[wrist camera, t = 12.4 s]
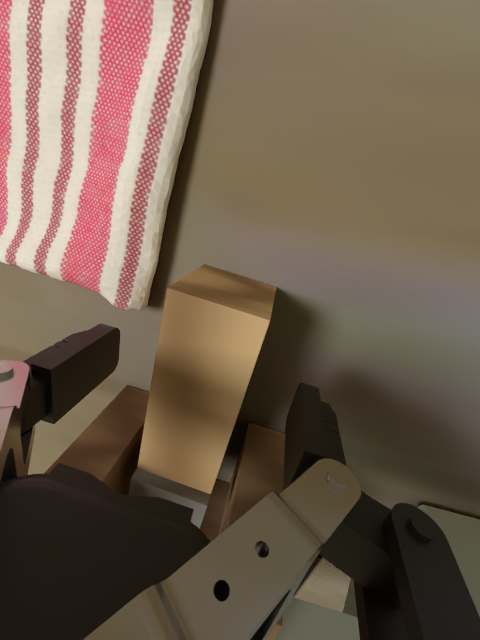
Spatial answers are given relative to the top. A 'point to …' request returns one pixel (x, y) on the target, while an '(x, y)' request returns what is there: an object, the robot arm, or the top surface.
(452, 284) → the top surface
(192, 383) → the tan rectangular block
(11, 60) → the dish towel
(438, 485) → the top surface
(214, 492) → the wooden block holder
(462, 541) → the bracket
